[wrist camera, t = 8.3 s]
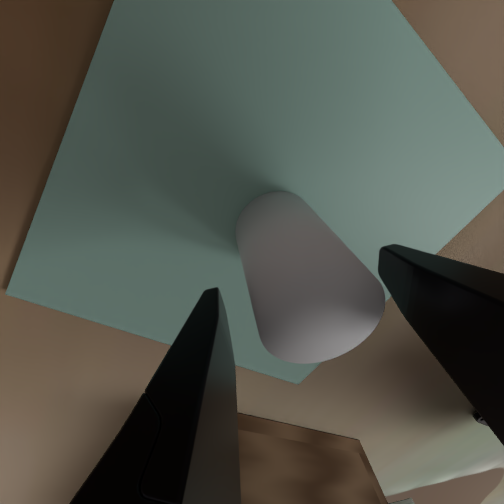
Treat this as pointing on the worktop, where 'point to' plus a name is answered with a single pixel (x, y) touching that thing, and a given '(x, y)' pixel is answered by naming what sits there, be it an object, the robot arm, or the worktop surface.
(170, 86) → the lid
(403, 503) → the supplement box
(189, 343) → the robot arm
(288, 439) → the box
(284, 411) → the worktop surface
